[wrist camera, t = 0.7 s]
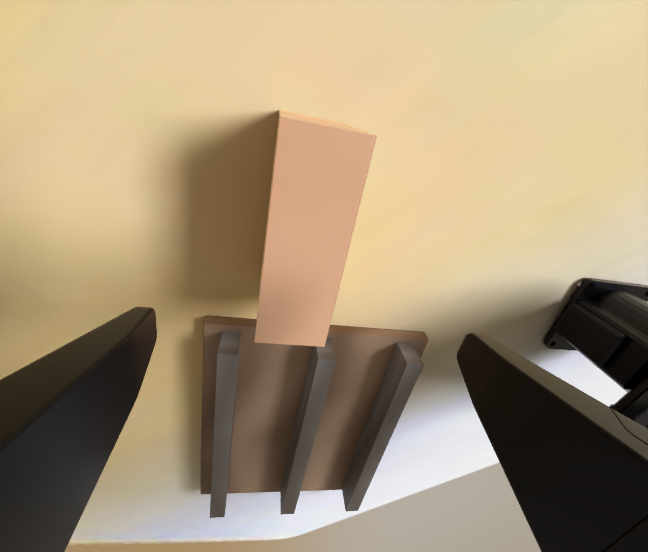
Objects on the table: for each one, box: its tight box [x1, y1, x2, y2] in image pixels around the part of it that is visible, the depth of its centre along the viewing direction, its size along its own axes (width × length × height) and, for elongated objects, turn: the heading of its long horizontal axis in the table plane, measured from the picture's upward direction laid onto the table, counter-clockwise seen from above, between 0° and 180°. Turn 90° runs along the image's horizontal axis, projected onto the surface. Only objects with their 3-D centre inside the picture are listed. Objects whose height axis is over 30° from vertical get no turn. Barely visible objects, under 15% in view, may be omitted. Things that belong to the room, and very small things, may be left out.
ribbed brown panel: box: [201, 316, 428, 518], centre depth 26 cm, size 16×20×3 cm
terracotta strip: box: [254, 110, 377, 347], centre depth 16 cm, size 4×10×6 cm, turn 169°
